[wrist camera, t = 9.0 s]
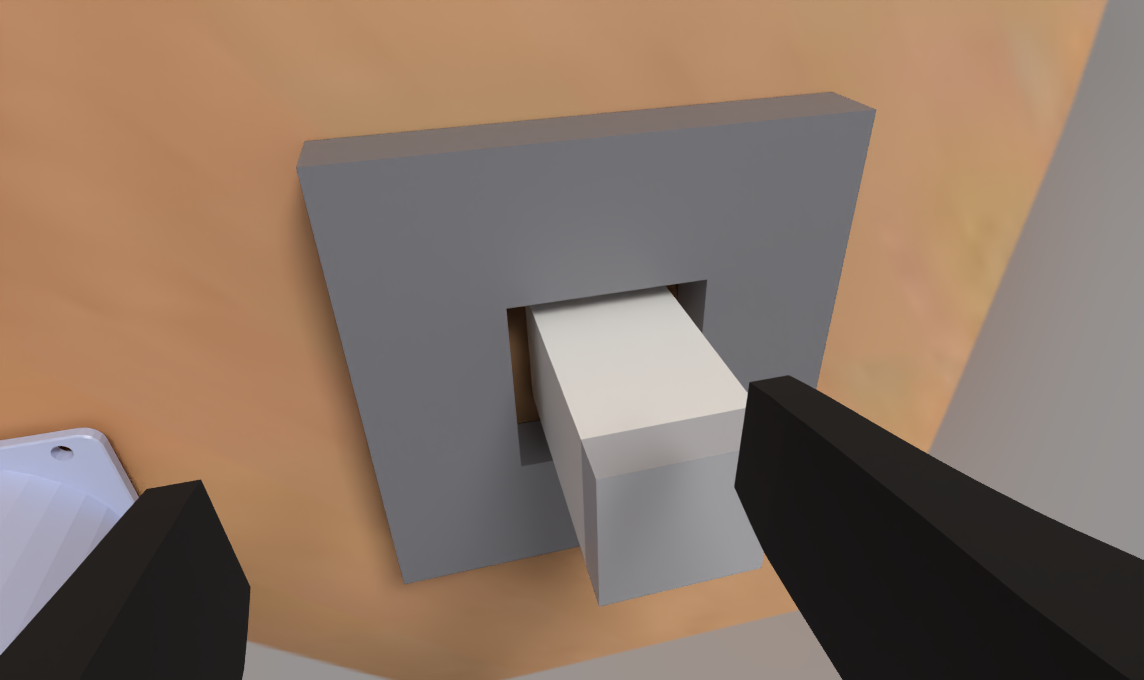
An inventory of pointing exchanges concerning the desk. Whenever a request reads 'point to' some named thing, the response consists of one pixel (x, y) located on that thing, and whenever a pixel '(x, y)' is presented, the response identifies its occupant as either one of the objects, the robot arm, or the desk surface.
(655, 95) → the desk surface
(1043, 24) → the desk surface
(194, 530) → the robot arm
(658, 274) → the socket plate
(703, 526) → the plug
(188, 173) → the desk surface
